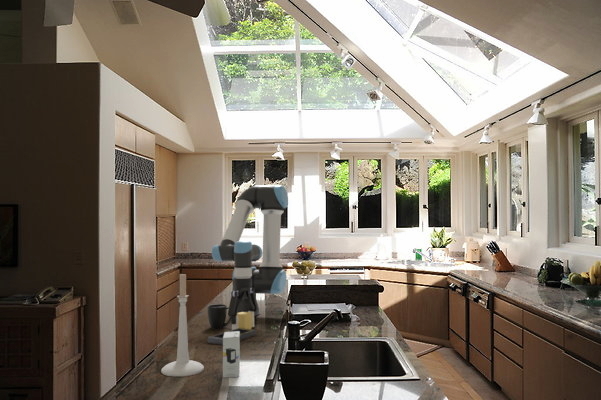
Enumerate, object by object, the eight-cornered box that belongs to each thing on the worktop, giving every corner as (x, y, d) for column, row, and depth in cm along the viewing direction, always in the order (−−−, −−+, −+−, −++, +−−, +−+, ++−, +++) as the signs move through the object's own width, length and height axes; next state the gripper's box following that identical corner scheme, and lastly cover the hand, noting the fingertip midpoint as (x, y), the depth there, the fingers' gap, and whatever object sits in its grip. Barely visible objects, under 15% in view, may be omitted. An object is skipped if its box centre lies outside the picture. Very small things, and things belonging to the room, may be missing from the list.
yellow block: (242, 328, 221) (241, 311, 221) (251, 329, 219) (251, 312, 219) (235, 330, 217) (234, 313, 217) (244, 331, 214) (244, 314, 215)
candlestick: (168, 364, 164) (168, 271, 166) (207, 364, 164) (207, 270, 165) (155, 376, 152) (156, 275, 153) (198, 376, 151) (198, 274, 153)
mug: (232, 329, 217) (232, 307, 218) (205, 329, 219) (205, 307, 219) (237, 326, 226) (237, 304, 226) (210, 325, 227) (210, 304, 227)
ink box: (224, 369, 158) (224, 331, 159) (240, 369, 159) (239, 330, 159) (222, 377, 150) (222, 337, 150) (239, 377, 150) (238, 336, 151)
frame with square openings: (239, 332, 211) (239, 327, 211) (256, 334, 207) (256, 329, 207) (207, 342, 194) (207, 337, 194) (225, 345, 190) (225, 339, 190)
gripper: (251, 274, 231) (251, 323, 230) (218, 279, 210) (218, 333, 209) (265, 275, 227) (265, 325, 226) (233, 280, 207) (233, 335, 206)
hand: (243, 329), depth 218 cm, fingers open, 11 cm apart
